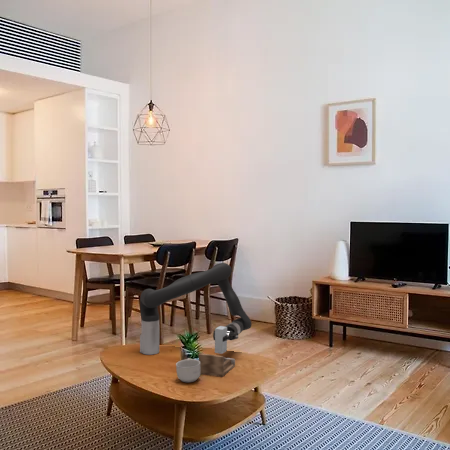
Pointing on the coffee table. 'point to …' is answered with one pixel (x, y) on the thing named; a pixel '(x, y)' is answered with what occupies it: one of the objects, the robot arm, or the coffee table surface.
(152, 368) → the coffee table surface
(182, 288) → the robot arm
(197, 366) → the teacup
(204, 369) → the track block
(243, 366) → the coffee table surface
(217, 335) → the tall grey pillar
